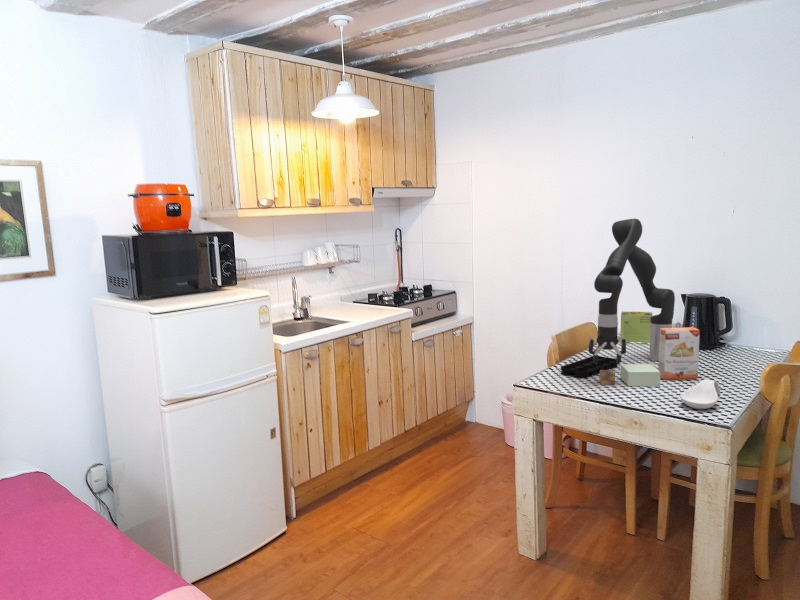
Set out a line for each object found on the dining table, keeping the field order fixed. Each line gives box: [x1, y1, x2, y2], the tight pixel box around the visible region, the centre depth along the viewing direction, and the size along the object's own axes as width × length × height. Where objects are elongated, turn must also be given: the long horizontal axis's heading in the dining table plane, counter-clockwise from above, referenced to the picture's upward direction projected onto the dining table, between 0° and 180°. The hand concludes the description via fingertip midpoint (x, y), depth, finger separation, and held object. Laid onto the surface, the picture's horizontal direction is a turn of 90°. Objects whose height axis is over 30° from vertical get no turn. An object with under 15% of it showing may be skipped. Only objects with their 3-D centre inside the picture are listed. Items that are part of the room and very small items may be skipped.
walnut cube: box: [599, 369, 616, 386], centre depth 233 cm, size 5×5×5 cm
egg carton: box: [560, 355, 618, 379], centre depth 253 cm, size 18×30×4 cm, turn 142°
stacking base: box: [620, 363, 661, 388], centre depth 232 cm, size 12×12×6 cm
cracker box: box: [657, 326, 701, 381], centre depth 235 cm, size 14×6×21 cm, turn 89°
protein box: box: [619, 310, 653, 343], centre depth 303 cm, size 10×15×16 cm
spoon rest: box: [679, 378, 721, 410], centre depth 206 cm, size 24×12×7 cm, turn 137°
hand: (606, 363), depth 232 cm, fingers open, 8 cm apart
